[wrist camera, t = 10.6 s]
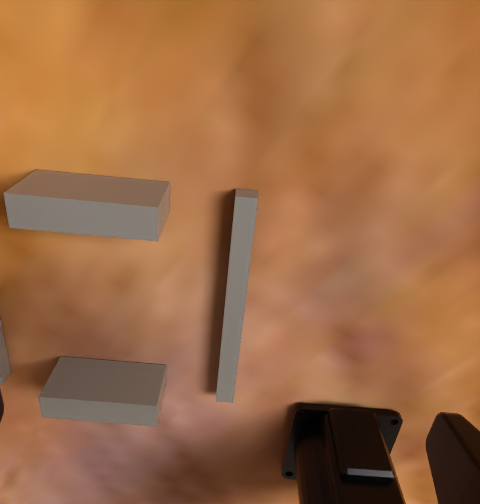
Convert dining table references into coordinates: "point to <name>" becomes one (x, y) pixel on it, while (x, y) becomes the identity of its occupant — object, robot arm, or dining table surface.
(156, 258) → the dining table surface
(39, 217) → the blocks
